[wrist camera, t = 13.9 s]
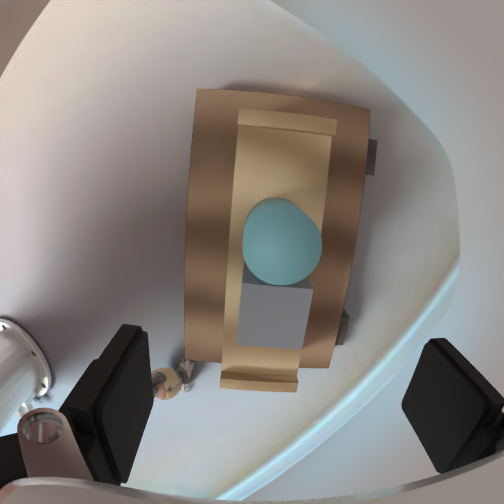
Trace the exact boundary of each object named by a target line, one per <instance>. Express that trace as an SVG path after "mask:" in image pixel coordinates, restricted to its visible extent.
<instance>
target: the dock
mask: <svg viewBox="0 0 504 504" xmlns="http://www.w3.org/2000/svg"><path fill="white" fill-rule="evenodd" d="M239 108H242V109H255V110H266V111H276V112H285V113H294V114H301V115H309V116H316V117H322V118H329V119H335V120H337V125H336V135H335V136H332V139H331V150H330V160H329V170H328V180H327V189H326V198H325V206H324V214H323V222H322V230H321V239H322V253H321V257H320V260H319V262H318V264H317V266H316V272H315V278H314V284H313V289H314V290H313V295H312V301H311V306H310V311H309V316H308V321H307V326H306V331H305V336H304V341H303V346H302V352H301V357H300V362H299V367H298V368H329V365H330V361H331V358H332V354H333V350H334V346H335V345H343V341H344V337H345V333H346V329H347V325H348V321H349V316H348V315H347V313H346V311H345V310H344V308H343V307H344V302H345V297H346V292H347V287H348V282H349V277H350V272H351V266H352V261H353V255H354V249H355V243H356V237H357V231H358V224H359V217H360V210H361V203H362V195H363V187H364V178H365V175H374V168H375V159H376V148H377V141H376V140H371V139H368V137H369V124H370V109H366V108H362V107H357V106H352V105H347V104H342V103H336V102H331V101H325V100H319V99H312V98H305V97H298V96H291V95H282V94H273V93H263V92H252V91H238V90H219V89H197V95H196V104H195V114H194V124H193V134H192V146H191V158H190V171H189V186H188V202H187V222H186V248H185V294H184V332H185V359H189V360H198V361H207V362H217V363H222V349H223V330H224V312H225V295H226V279H227V264H228V249H229V235H230V221H231V208H232V195H233V182H234V170H235V158H236V147H237V135H238V115H239Z"/></svg>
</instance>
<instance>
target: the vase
mask: <svg viewBox="0 0 504 504" xmlns="http://www.w3.org/2000/svg"><path fill="white" fill-rule="evenodd" d="M184 360H185V359H184V358H183V361H182V362H184ZM194 363H195V362H191V361H190V360H187V361H185V362H184V363H180V366H179V367H177V368H176V370H174V369H171V368H160V369H157V370H155V371H153V372H152V373H151V377H152V387H153V395H154V397H157V398H159V399H163V400H167V399H170V398H173V397H174V396H176V395H177V394H178V393H179V391H180V389H181V387H183V390H182V391H185V393H186V390H187V388H185V385H186V386H188V383H189V380H190V376H191V373H192V370H193V366H194ZM184 396H185V394H184Z"/></svg>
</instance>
